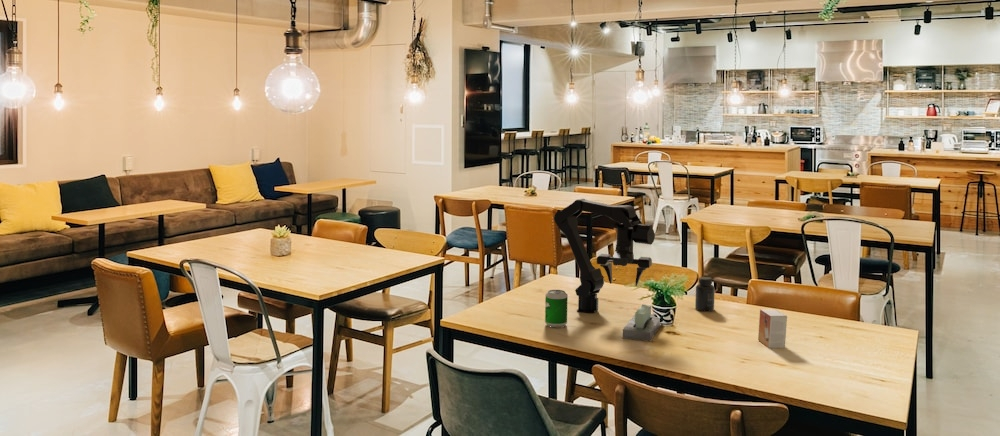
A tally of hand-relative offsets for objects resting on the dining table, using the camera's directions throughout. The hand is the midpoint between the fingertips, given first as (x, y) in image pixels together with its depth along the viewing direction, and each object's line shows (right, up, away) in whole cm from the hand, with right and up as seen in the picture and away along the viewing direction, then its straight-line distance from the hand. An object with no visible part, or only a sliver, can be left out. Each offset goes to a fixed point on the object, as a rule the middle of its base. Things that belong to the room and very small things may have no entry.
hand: (623, 284), depth 276 cm
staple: (+4, -14, -15) cm, 21 cm away
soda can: (-25, -14, -9) cm, 30 cm away
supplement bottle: (+32, -11, +13) cm, 36 cm away
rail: (+4, -14, -15) cm, 21 cm away
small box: (+43, -17, -28) cm, 54 cm away
